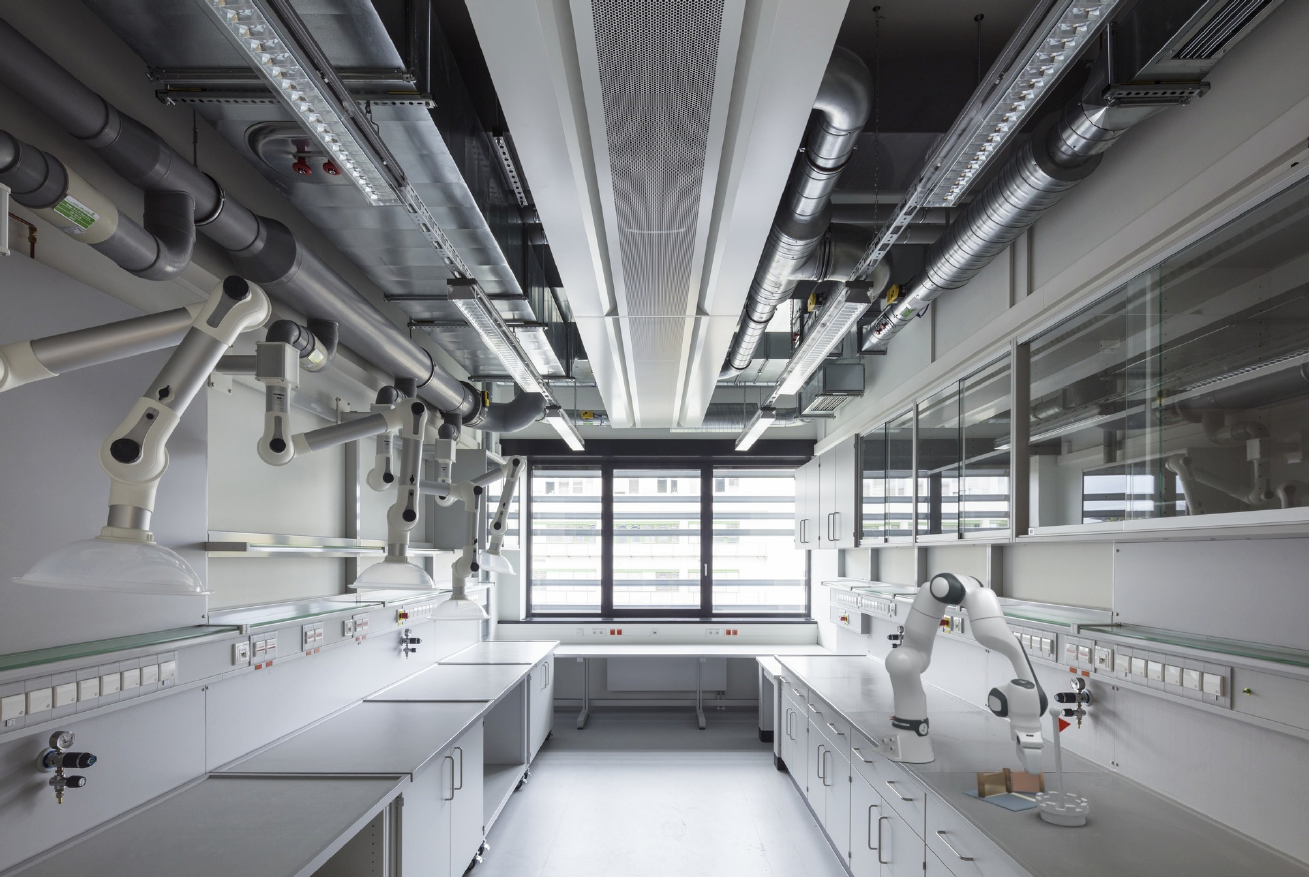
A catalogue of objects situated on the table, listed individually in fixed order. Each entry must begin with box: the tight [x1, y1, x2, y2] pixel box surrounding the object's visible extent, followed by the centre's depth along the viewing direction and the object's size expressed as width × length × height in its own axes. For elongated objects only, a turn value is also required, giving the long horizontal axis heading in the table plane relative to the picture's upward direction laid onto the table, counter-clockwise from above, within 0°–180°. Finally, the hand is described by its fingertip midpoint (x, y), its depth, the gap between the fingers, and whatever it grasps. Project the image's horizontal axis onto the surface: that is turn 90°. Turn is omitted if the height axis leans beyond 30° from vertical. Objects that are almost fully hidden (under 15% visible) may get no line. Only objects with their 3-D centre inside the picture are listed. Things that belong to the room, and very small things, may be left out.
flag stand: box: [1035, 705, 1090, 827], centre depth 218 cm, size 13×13×30 cm
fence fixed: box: [976, 767, 1012, 798], centre depth 237 cm, size 2×13×7 cm, turn 116°
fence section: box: [1011, 770, 1046, 793], centre depth 238 cm, size 2×9×6 cm, turn 74°
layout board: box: [962, 782, 1049, 813], centre depth 236 cm, size 19×24×1 cm
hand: (1029, 781), depth 240 cm, fingers closed
